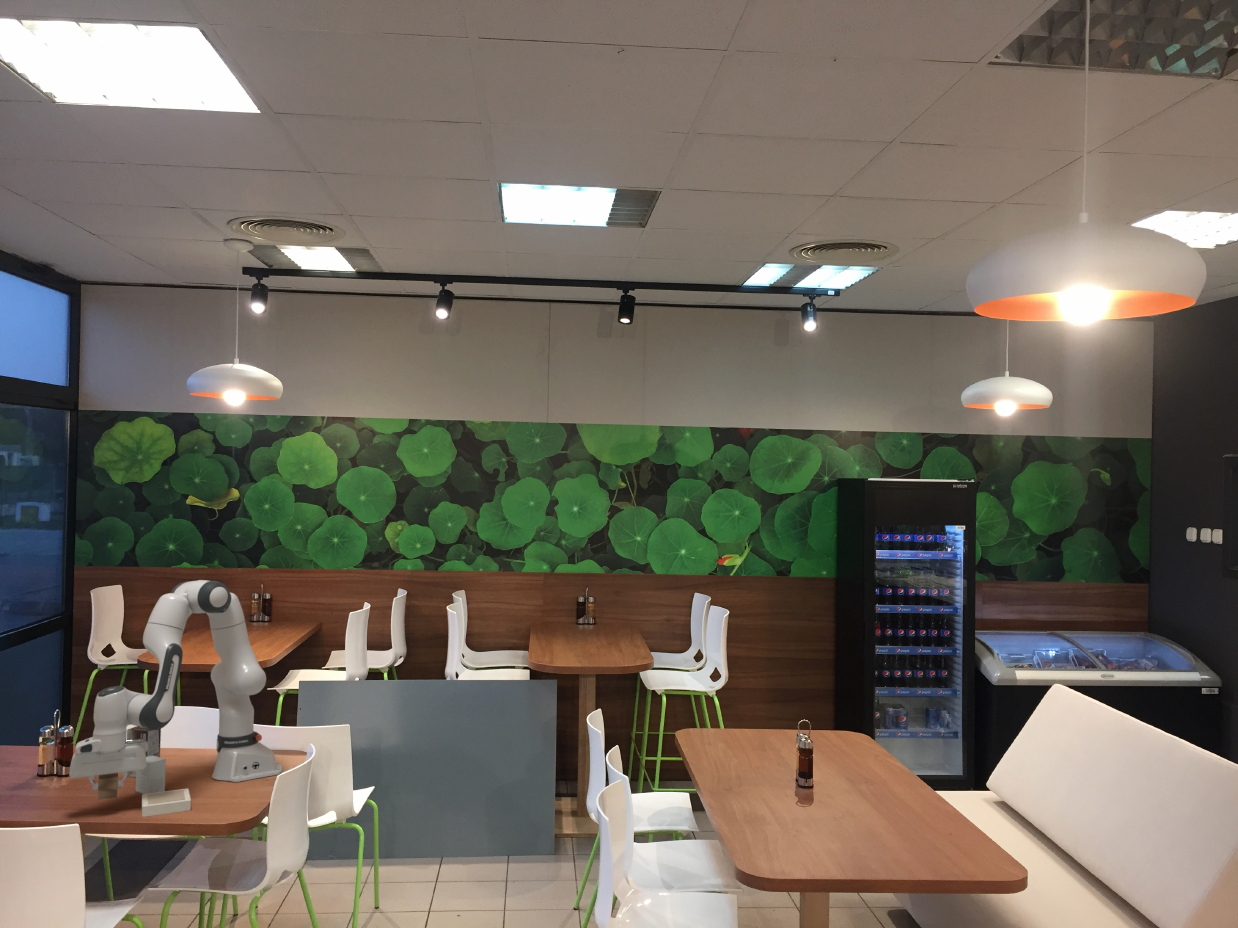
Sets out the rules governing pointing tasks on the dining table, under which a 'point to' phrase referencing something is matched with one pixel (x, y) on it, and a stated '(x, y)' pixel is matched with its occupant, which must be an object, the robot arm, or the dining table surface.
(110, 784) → the walnut block
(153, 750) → the coffee box
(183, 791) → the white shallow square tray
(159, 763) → the small box
